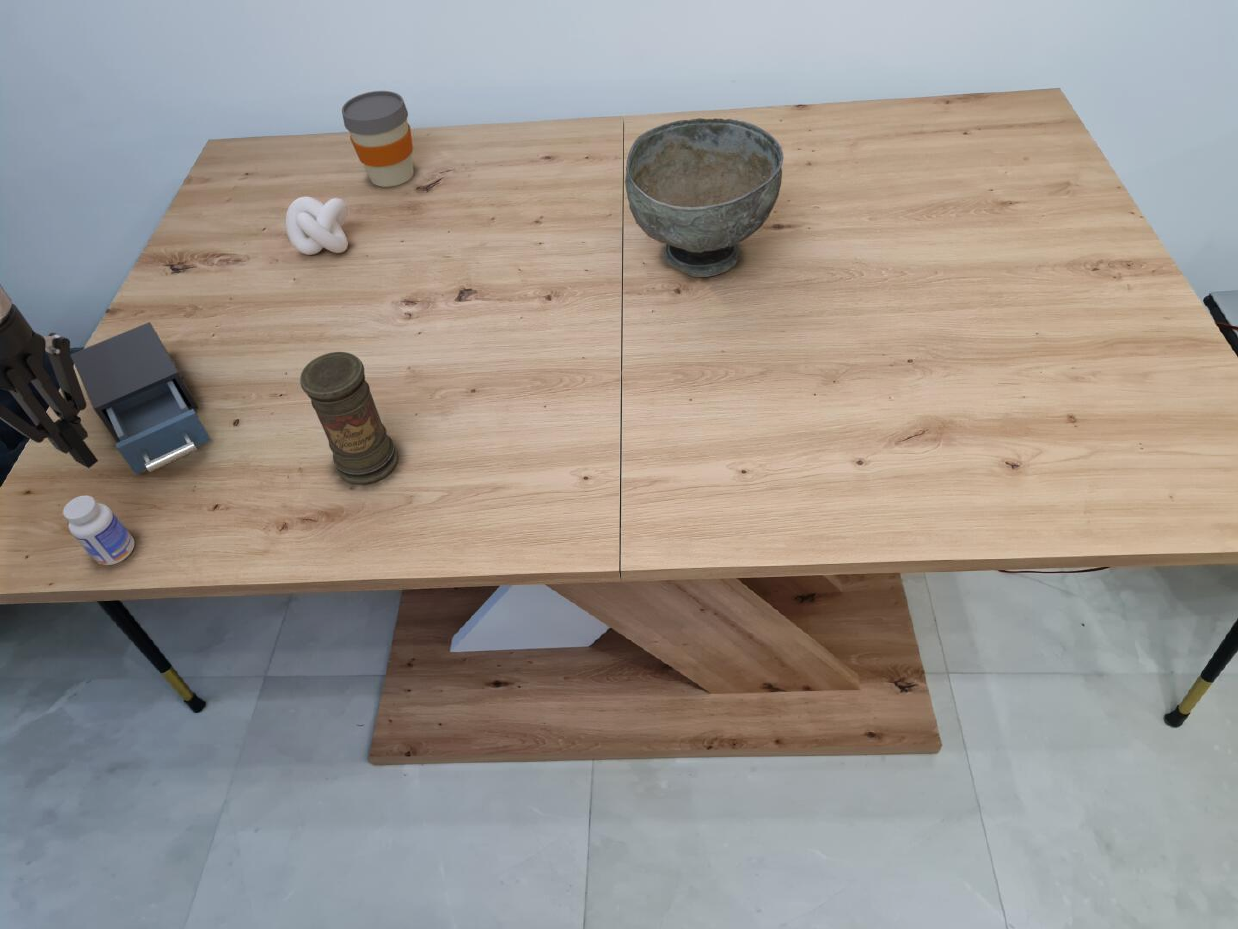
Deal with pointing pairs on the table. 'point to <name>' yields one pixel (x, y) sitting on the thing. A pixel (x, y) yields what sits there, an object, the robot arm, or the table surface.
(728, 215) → the decorative bowl
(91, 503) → the pill bottle
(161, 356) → the small cabinet
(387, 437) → the container
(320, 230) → the white knot sculpture
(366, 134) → the reusable coffee cup
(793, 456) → the table surface
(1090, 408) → the table surface
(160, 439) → the drawer
